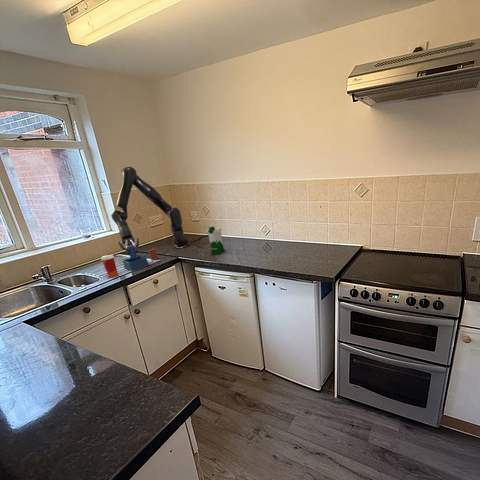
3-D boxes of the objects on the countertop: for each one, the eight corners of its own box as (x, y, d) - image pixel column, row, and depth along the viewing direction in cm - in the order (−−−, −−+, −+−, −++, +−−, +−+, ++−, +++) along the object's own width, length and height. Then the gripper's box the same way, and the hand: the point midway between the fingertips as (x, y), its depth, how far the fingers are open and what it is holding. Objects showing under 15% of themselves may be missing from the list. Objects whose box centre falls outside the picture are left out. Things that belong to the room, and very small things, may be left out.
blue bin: (141, 262, 222) (139, 255, 220) (148, 264, 214) (146, 257, 212) (124, 267, 214) (122, 260, 212) (131, 270, 206) (129, 262, 204)
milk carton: (210, 254, 222) (204, 228, 214) (217, 250, 229) (212, 225, 222) (219, 254, 218) (214, 228, 211) (226, 251, 225) (221, 225, 218)
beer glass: (110, 274, 203) (103, 255, 198) (121, 273, 203) (115, 253, 198) (105, 279, 196) (98, 258, 190) (116, 277, 196) (110, 257, 191)
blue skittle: (135, 256, 215) (132, 245, 212) (138, 257, 212) (135, 246, 209) (129, 258, 212) (126, 247, 209) (132, 259, 209) (128, 248, 206)
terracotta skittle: (156, 258, 229) (153, 248, 226) (158, 259, 226) (156, 249, 223) (150, 260, 226) (147, 249, 223) (153, 260, 223) (150, 250, 220)
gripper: (114, 232, 208) (120, 252, 203) (135, 228, 214) (142, 247, 209) (115, 238, 214) (122, 258, 209) (136, 234, 221) (143, 253, 215)
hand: (132, 252), depth 209 cm, fingers closed on blue skittle, 4 cm apart
